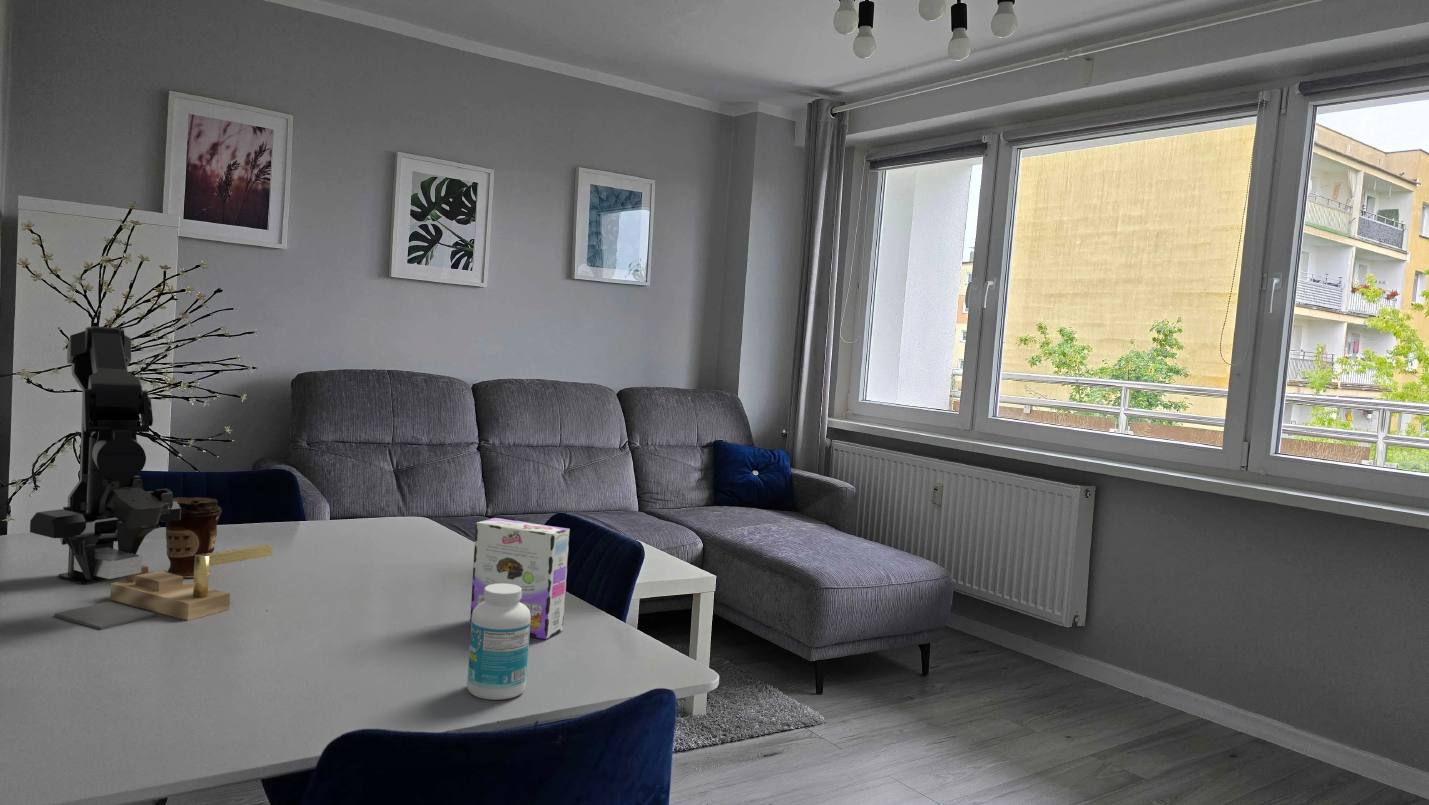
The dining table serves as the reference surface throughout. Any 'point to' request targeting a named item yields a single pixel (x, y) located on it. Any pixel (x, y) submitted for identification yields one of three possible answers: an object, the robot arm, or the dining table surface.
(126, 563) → the grey flat block
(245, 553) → the latch lever
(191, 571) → the brown jar
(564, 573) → the candy box
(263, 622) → the dining table surface
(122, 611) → the mat
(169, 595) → the latch plate
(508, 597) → the pill bottle
